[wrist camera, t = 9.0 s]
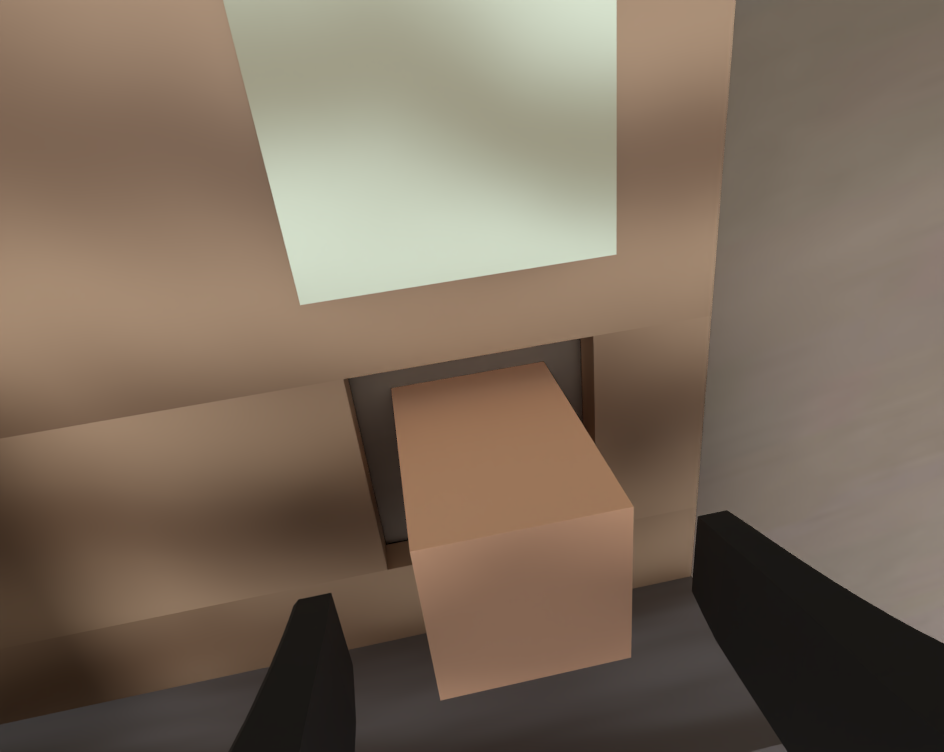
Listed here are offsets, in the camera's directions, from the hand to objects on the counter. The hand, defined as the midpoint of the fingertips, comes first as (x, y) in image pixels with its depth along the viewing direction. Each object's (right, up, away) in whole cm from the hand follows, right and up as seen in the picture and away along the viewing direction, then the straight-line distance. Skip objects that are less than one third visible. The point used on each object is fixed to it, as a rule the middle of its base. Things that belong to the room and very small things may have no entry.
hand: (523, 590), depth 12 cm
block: (-1, +2, +5) cm, 6 cm away
